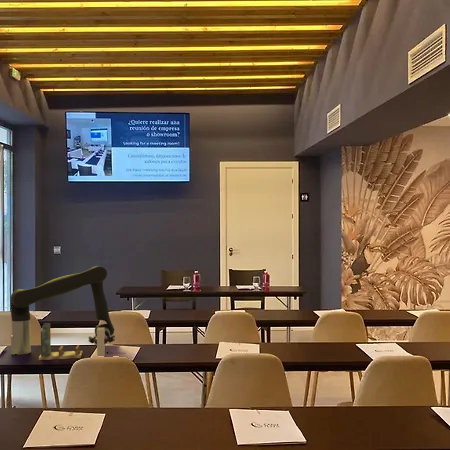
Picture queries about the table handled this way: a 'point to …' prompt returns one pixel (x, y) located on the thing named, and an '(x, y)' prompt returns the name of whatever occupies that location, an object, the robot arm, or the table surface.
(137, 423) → the table surface
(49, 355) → the book rack
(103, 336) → the cream book
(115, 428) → the table surface
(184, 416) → the table surface
